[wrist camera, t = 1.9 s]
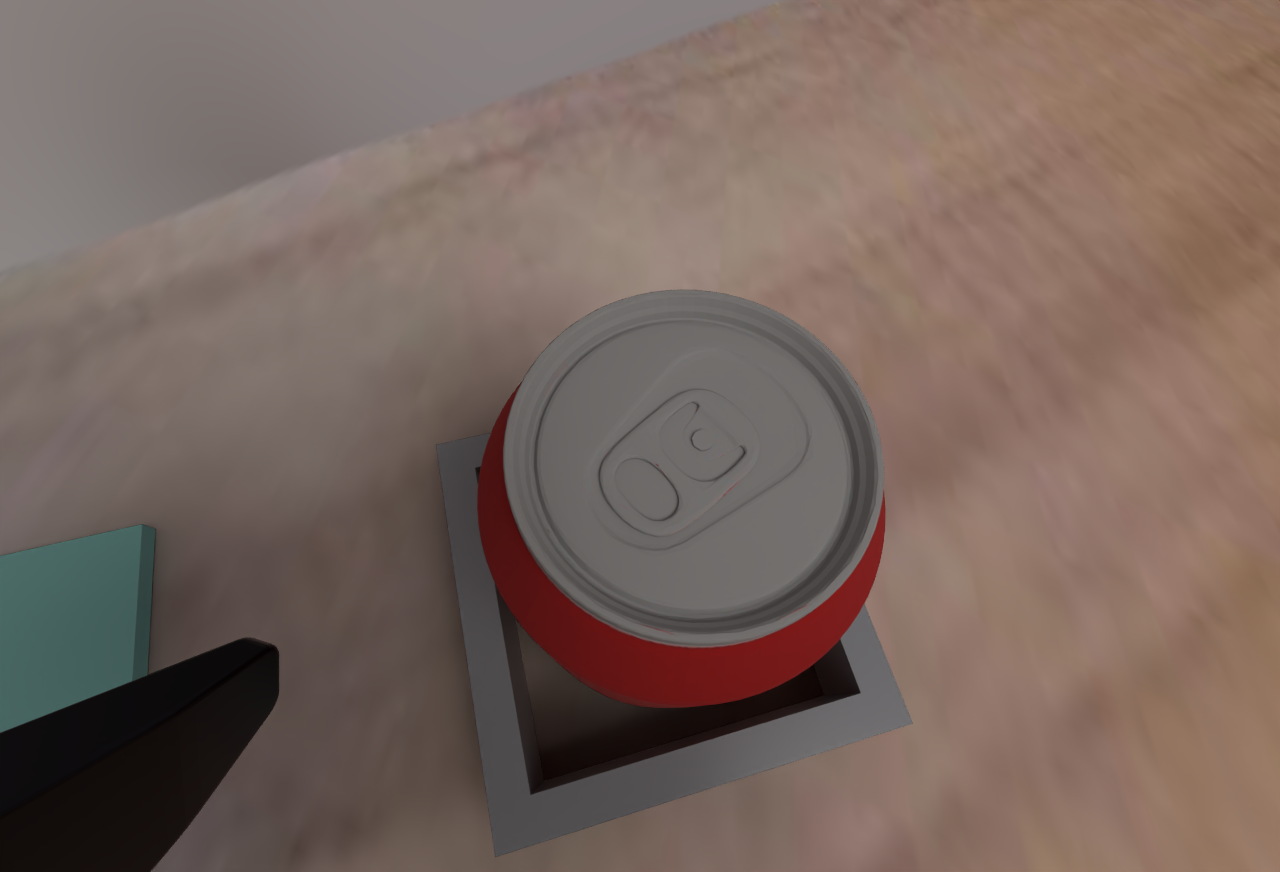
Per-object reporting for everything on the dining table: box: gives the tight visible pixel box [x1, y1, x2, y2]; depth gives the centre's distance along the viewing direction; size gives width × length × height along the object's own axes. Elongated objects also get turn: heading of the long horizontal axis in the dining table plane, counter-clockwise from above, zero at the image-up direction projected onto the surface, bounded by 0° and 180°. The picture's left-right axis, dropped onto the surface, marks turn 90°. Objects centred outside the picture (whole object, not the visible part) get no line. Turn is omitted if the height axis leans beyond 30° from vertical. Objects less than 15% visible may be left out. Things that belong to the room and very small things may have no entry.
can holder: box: [436, 433, 913, 857], centre depth 18 cm, size 11×11×3 cm
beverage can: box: [477, 290, 885, 708], centre depth 14 cm, size 7×7×12 cm
